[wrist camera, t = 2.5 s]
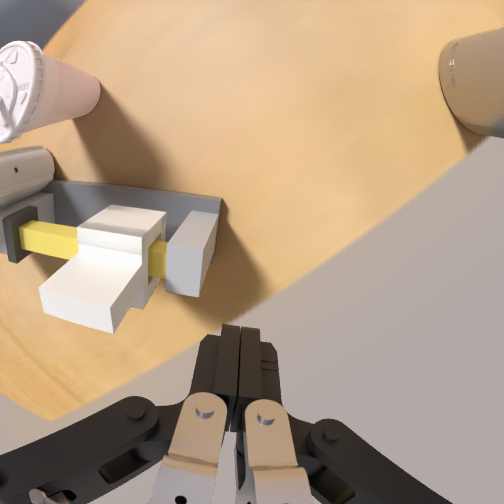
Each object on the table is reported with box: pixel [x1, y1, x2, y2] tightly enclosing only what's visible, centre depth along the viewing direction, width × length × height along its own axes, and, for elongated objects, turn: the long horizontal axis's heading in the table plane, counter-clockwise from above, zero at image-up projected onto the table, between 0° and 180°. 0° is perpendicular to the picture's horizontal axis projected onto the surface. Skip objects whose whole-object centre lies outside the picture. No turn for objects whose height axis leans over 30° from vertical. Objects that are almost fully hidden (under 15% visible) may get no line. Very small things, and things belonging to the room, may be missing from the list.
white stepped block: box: [38, 205, 167, 334], centre depth 15 cm, size 4×4×8 cm
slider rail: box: [0, 179, 222, 297], centre depth 18 cm, size 17×5×8 cm, turn 81°
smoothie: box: [0, 41, 101, 144], centre depth 11 cm, size 6×6×14 cm
